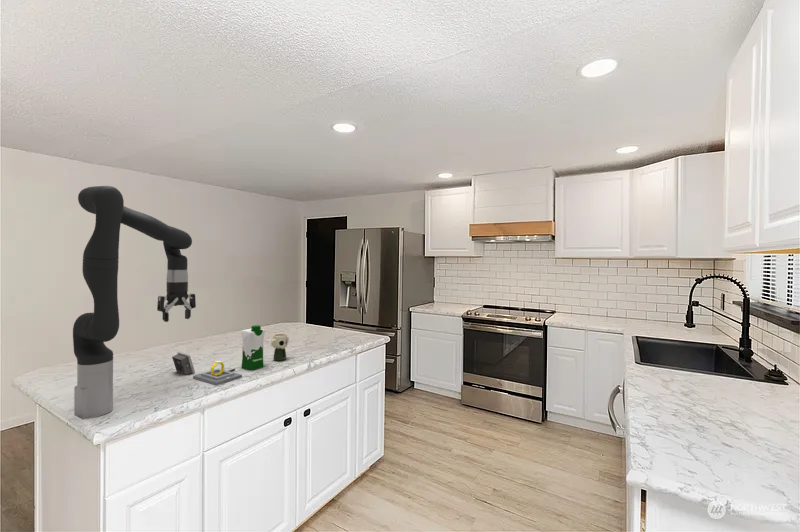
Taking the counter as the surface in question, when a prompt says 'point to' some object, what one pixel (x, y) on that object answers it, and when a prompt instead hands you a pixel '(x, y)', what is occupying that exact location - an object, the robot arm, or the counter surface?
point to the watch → (214, 366)
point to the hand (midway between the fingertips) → (177, 320)
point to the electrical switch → (183, 363)
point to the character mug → (280, 345)
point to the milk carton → (252, 348)
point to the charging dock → (217, 377)
